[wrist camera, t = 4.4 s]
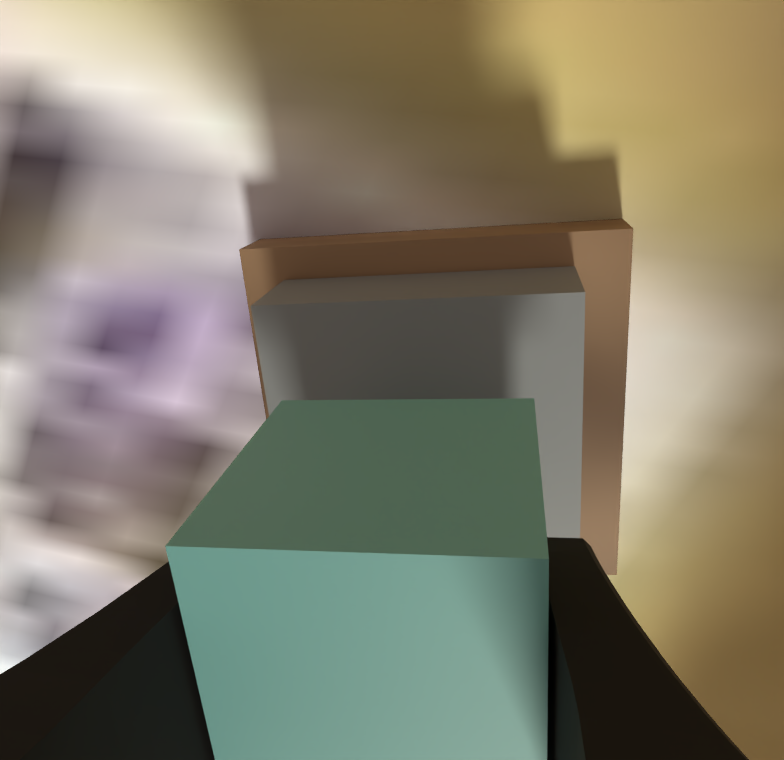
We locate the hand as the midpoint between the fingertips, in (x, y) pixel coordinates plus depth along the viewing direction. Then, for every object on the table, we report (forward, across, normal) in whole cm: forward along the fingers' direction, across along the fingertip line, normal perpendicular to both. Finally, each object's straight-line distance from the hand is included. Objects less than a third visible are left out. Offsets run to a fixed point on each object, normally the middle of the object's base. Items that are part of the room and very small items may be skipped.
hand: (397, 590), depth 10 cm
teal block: (+2, 0, 0) cm, 2 cm away
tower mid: (+6, 0, 0) cm, 6 cm away
